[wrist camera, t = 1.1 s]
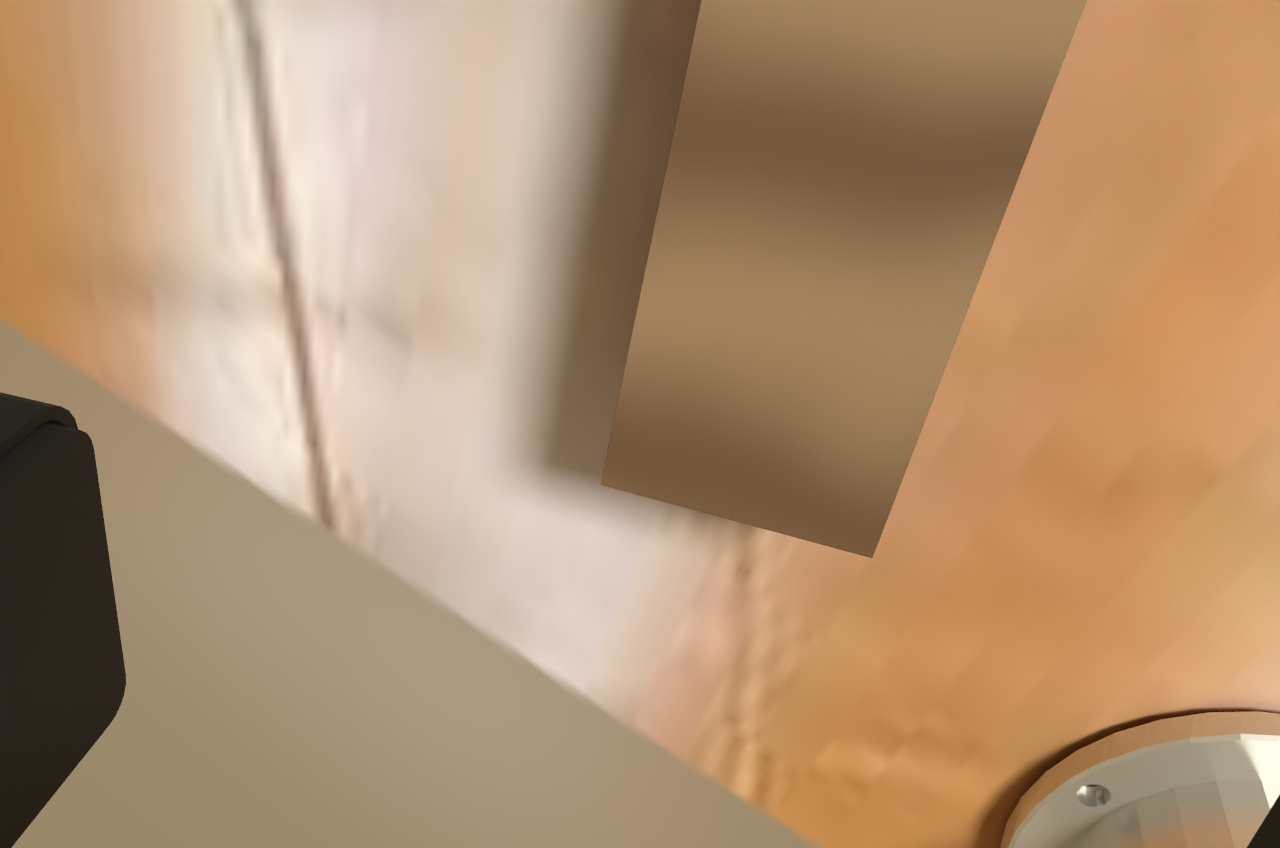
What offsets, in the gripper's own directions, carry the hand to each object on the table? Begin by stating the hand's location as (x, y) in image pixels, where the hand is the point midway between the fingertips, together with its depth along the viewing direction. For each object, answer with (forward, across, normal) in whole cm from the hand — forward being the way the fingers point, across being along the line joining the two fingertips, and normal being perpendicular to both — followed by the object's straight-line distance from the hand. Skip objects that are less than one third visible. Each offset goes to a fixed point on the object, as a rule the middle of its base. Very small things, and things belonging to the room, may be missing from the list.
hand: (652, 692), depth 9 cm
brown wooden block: (+19, -1, 0) cm, 19 cm away
